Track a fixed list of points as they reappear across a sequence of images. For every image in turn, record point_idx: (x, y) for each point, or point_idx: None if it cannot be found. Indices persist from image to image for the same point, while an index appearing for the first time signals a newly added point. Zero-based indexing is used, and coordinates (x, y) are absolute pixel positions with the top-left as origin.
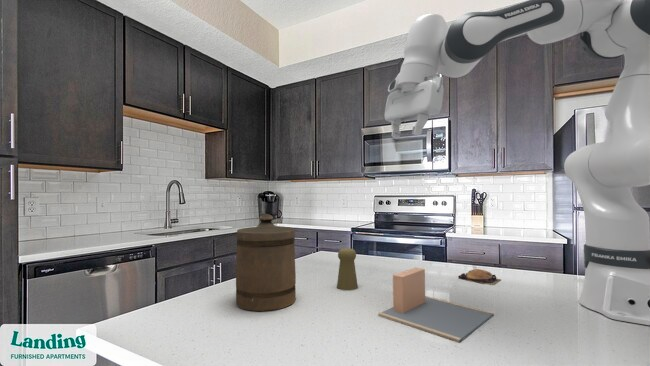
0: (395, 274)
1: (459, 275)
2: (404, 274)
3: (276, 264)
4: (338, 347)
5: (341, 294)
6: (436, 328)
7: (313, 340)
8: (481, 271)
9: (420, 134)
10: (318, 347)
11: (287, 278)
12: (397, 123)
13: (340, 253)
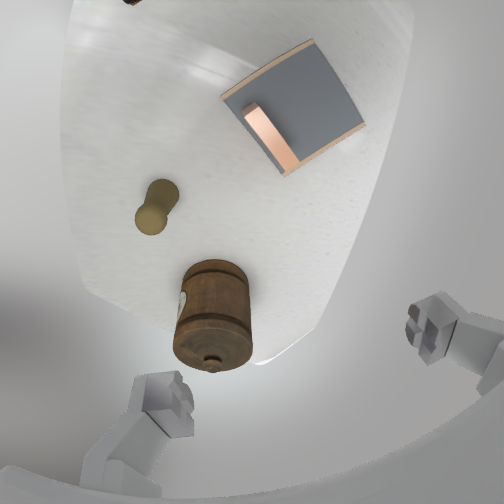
0: (283, 166)
1: (130, 2)
2: (286, 153)
3: (248, 311)
4: (340, 228)
5: (197, 206)
6: (337, 130)
7: (322, 245)
8: None
9: (440, 293)
10: (335, 243)
11: (238, 288)
12: (144, 481)
13: (159, 232)
